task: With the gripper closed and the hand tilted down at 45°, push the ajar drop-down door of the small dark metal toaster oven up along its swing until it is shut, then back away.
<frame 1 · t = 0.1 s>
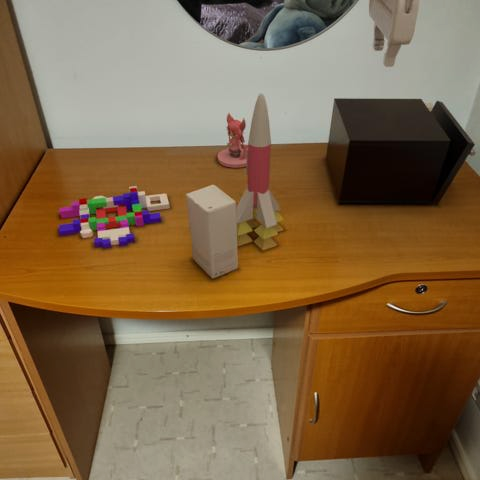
hand: (382, 57, 91), 33 cm above the table, tool pointing down, fingers open, 8 cm apart
toy figure: (235, 160, 132), on the table
cosmetic box: (214, 264, 99), on the table
oven: (374, 180, 124), on the table
toy rocket: (256, 234, 107), on the table
building block set: (117, 221, 111), on the table
oven door: (442, 153, 119), point 7 cm above the table, hinge at 13.8°
grandmother figurine: (417, 149, 137), on the table
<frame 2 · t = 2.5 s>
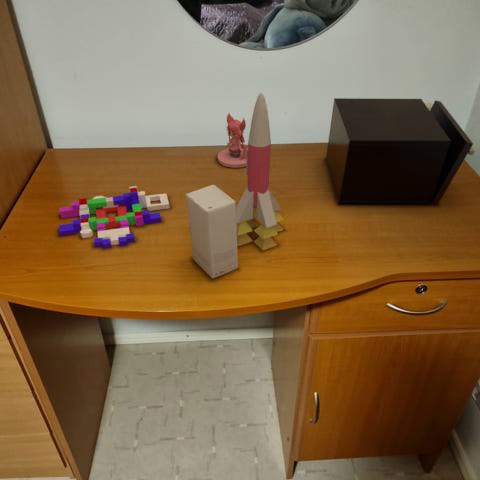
oven door: (442, 152, 119), point 7 cm above the table, hinge at 12.2°
everything else where it was.
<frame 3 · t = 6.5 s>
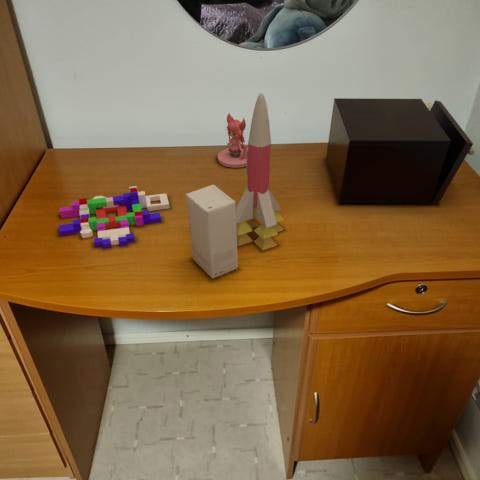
nothing on the table moved.
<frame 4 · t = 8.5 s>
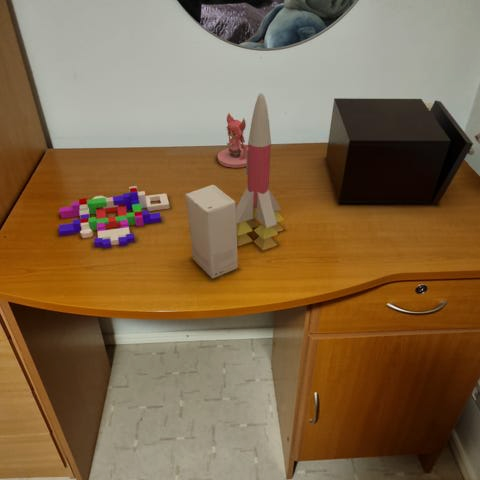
hand: (477, 141, 116), 11 cm above the table, tool tilted 45°, fingers closed
nothing on the table moved.
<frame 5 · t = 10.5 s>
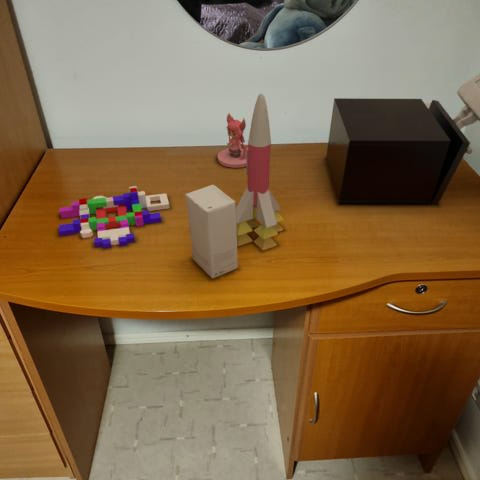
hand: (453, 126, 114), 14 cm above the table, tool tilted 45°, fingers closed, pressing on oven door
oven door: (440, 152, 119), point 8 cm above the table, hinge at 9.5°, touching gripper
everything else where it was.
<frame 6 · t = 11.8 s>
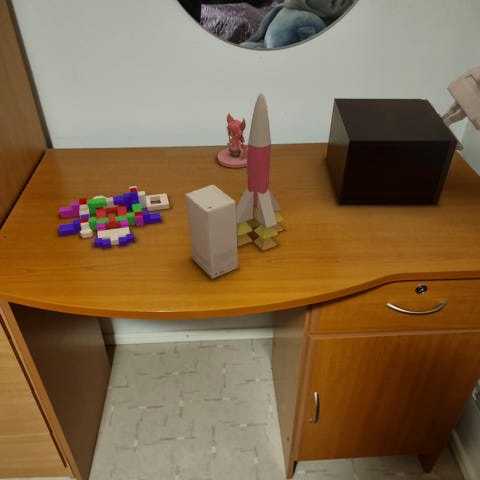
hand: (442, 122, 113), 15 cm above the table, tool tilted 45°, fingers closed, pressing on oven door
oven door: (435, 150, 118), point 8 cm above the table, hinge at -0.9°, touching gripper, oven
everything else where it was.
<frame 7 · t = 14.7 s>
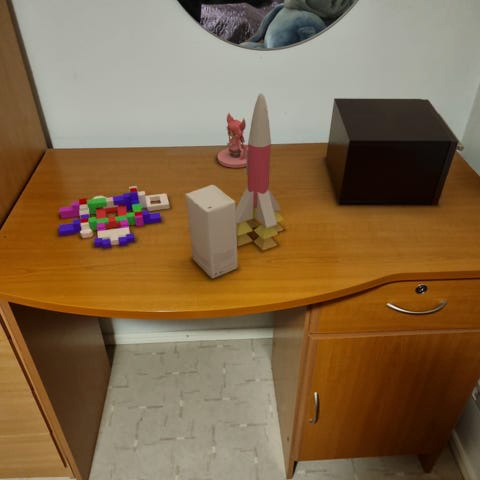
oven door: (435, 150, 118), point 8 cm above the table, hinge at -0.3°
everything else where it was.
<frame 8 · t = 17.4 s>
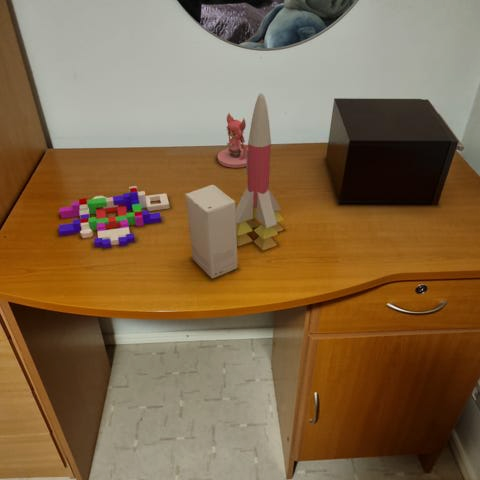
nothing on the table moved.
at the end: oven door at +0° (first picture: +15°) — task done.
